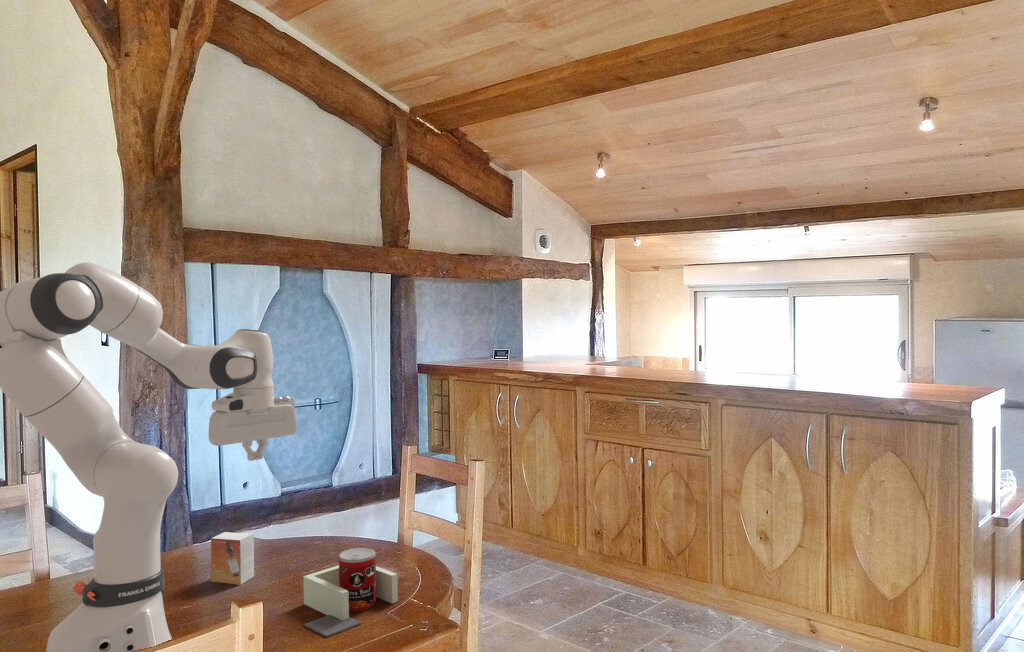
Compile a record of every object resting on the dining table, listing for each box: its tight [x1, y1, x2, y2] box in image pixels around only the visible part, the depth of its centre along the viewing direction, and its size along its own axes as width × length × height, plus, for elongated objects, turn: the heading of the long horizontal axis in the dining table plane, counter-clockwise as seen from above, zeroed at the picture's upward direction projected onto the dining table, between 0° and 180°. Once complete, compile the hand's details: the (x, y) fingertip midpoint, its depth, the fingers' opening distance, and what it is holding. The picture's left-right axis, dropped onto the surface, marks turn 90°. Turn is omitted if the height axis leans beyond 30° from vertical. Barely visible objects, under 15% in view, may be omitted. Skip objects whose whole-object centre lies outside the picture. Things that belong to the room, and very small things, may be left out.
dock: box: [302, 564, 399, 620], centre depth 156 cm, size 14×14×6 cm
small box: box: [210, 531, 255, 586], centre depth 171 cm, size 8×6×10 cm
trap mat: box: [303, 615, 362, 639], centre depth 145 cm, size 8×8×1 cm
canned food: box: [338, 547, 377, 612], centre depth 155 cm, size 8×8×11 cm
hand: (255, 459), depth 167 cm, fingers closed
